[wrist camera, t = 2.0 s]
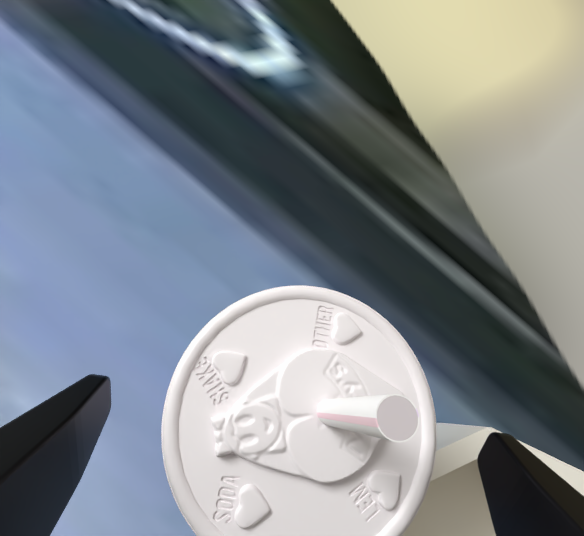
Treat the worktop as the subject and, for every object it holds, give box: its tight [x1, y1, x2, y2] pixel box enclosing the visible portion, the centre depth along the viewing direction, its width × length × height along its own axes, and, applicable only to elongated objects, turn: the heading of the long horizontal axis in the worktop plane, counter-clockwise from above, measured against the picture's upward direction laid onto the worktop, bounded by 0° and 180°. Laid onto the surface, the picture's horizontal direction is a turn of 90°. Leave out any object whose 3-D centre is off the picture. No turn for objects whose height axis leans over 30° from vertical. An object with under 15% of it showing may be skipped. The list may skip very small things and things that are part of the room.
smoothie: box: [161, 286, 437, 536], centre depth 11 cm, size 6×6×14 cm
